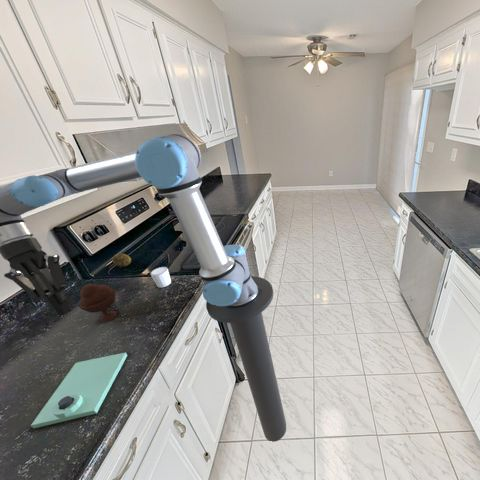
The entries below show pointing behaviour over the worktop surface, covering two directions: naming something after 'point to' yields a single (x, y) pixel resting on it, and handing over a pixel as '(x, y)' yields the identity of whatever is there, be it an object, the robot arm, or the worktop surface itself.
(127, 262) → the potato
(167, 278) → the shot glass
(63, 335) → the worktop surface
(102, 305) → the ice cream bowl
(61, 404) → the button
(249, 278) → the robot arm
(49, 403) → the scale
